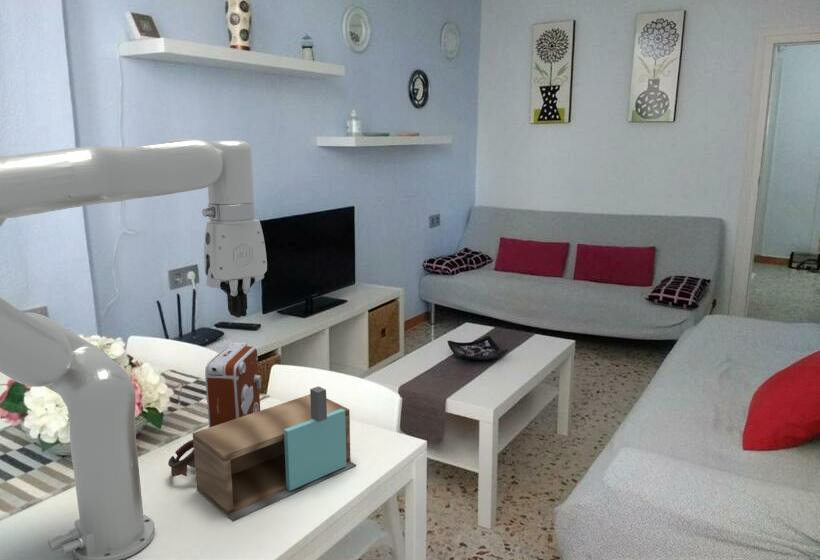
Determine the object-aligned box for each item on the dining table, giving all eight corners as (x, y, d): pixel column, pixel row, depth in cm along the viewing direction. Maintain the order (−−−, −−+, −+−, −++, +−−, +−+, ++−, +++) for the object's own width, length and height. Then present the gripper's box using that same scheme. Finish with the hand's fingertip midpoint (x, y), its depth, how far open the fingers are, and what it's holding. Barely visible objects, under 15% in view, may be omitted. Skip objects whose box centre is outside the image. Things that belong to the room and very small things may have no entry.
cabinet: (232, 521, 112) (228, 459, 109) (196, 490, 122) (192, 433, 119) (355, 466, 131) (355, 412, 128) (316, 443, 141) (314, 392, 138)
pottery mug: (216, 491, 123) (190, 461, 120) (180, 503, 126) (154, 474, 123) (240, 448, 133) (217, 419, 130) (206, 460, 136) (183, 432, 134)
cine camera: (273, 414, 155) (269, 336, 151) (245, 452, 137) (240, 364, 132) (237, 412, 156) (232, 334, 152) (204, 450, 137) (198, 362, 133)
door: (291, 492, 120) (288, 402, 116) (284, 487, 122) (280, 398, 117) (348, 466, 129) (346, 383, 125) (340, 462, 131) (339, 379, 127)
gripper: (201, 218, 102) (209, 328, 106) (281, 211, 112) (285, 311, 116) (181, 214, 107) (188, 319, 111) (258, 208, 117) (263, 304, 121)
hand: (238, 315), depth 114 cm, fingers closed
